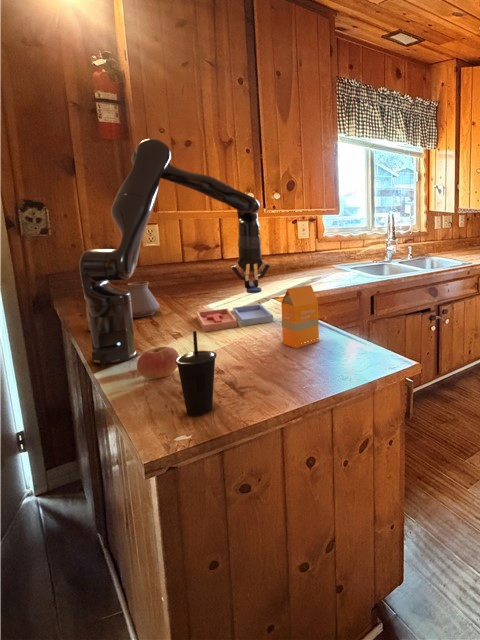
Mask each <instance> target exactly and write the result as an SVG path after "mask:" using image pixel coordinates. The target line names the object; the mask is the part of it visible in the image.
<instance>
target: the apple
mask: <svg viewBox="0 0 480 640" xmlns="http://www.w3.org/2000/svg"><path fill="white" fill-rule="evenodd" d="M179 357H180V354H179V352H178V351H177V350H176V349H175V348H174V347H171V346H167V345H166V346H158V347H154V348H151V349H148V350H146V351H144V352H143V353H141V355H140V356H139V357H138V359H137V362H136V370H137V372H138V374H139V375H140V376H141V377H143V378H145V379H149V380H151V379H152V380H153V379H155V380H156V379H161V378H165V377H168V376H170V375H172V374H174V372H175V371H176V370H178V365H177V364H176V363H175V361H176V359H177V358H179Z"/></svg>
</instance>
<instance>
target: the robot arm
mask: <svg viewBox="0 0 480 640" xmlns="http://www.w3.org/2000/svg"><path fill="white" fill-rule="evenodd" d="M171 160H172V150H171V149H170V147H169V146H168V145H167V144H166V143H165V142H164V141H162V140H160V139H157V138H147V139H143V140H141V141H140V142H139V143H138V144H137V145H136V146H135V148H134V151H133V153H132V154H131V157H130V161H131V162H130V163H132V168H131V170H130V172H129V173H128V174H127V176H126V178H125V179H124V181H123V182H122V184H121V185H120V187H119V189H118V191H117V193H116V195H115V198H114V200H113V203H112V205H111V207H110V216H111V218H112V220H113V223H114V224H115V225H116V227H117V229H118V231H119V233H120V242H119V245H118V246H117V248H116V249H115V248H113V249H112V248H92V249H91V248H90V249H87V250H85V251H84V252H83V253H82V254H81V256H80V259H79V265H78V266H79V267H78V268H79V274H80V280H81V286H82V292H83V296H85V298H86V299H87V303H88V312H89V322H90V330H89V331H90V339H91V348H92V350H91V358H92V361H93V363H94V364H97V365H100V366H101V367H102V368H103V367H106V365H108V364H115V363H121V362H126V361H130V360H131V359H133V358H134V357H136V356H137V349H136V339H135V338H136V337H135V327H134V317H133V314H132V302H131V294H130V292H129V291H130V290H129V291H127V290H128V289H124V288H121V287H120V288H119V287H118V286H115V285H113V284H112V283H111V281H113V282H114V281H115V282H116V281H117V282H119V281H126V280H129V279H130V278H132V276H133V275H134V273H135V271H136V269H137V264H138V260H139V255H140V251H141V245H142V242H143V237H144V235H145V232H146V229H147V225H148V223H149V222H150V221H149V220H150V218H151V216H152V213H153V210H154V207H155V204H156V199H157V196H158V192H159V187H160V182H161V179H162V180H165V181H169V182H171V183H174V184H177V185H180V186H183V187H185V188H187V189H188V188H189V189H191V190H194V191H195V192H198V193H200V194H203V195H205V196H207V197H209V198H211V199H213V200H215V201H217V202H220V203H222V204H225V205H227V206H229V207H231V208H233V209H235V210H236V214H237V220H238V222H237V223H238V225H237V228H238V238H237V247H238V261H237V263H236V264H235V265H231V266H230V269H231V270H232V271H233V273H234V274H235V275H236V276H237V278H238V279H239V280H241V281H244V282H243V283H244V284H243V285H244V288H245V289H246V290H247V289H248V288H249V286H250V284H249V282H250V272H252V277H253V279H252V284H253V285H255V287H259V279H263V278H264V276H265V275H266V273H267V272H268V270H269V268H270V264H268V263H265V262H264V261H263V259H262V241H261V235H260V223H259V220H258V211H260V202H259V200H258V199H257V198H255V197H253V196H252V195H249V194H247V193H245V192H242V191H240V190H238V189H237V188H235V187H233V186H231V185H229V184H227V183H226V182H223V181H221V180H220V179H218V178H216V177H214V176H210V175H206V174H202V173H198V172H191V171H188V170H185V169H182V168H179V167H177V166H175V165H173V164H172V163H170V161H171ZM260 268H262V269H261V270H260V271H259V269H260ZM240 269H242V270H243V275H242V274H241V273H240V271H239V270H240ZM123 289H124V290H123Z"/></svg>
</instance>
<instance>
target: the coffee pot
mask: <svg viewBox="0 0 480 640" xmlns="http://www.w3.org/2000/svg"><path fill="white" fill-rule="evenodd" d="M149 284H150V282H149V281H132V282H128V283H127V286H128V287H129V290H128V289H126V290H127V291H129V292H130V294H131V302H132V314H133V318H145V317H149V316H152V315H154V314H155V313H156V312H157V311H158V310H159V309H160V304H159V302H158V301H157V299H156V297H155V296H154V295H153V293H152V292H151V290H150V289H149V288H148V286H149ZM80 287H81V288H83V286H82V285H81V286H80ZM122 289H123V290H125V289H124V288H122Z"/></svg>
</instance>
